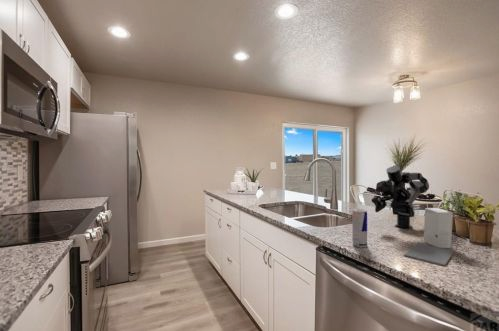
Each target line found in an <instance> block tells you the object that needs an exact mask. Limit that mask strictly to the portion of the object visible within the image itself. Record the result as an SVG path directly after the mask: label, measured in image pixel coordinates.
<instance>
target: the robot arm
mask: <svg viewBox="0 0 499 331" xmlns="http://www.w3.org/2000/svg"><path fill="white" fill-rule="evenodd" d="M386 174H387V177H388V179H386V180H381V181H378V182H377V183H376V186H375V189H376V190H377V191H379V192H381V195H382V197H381V195H377V196H373V197H372V198H371V199H370V200H371V202H372V203H373V204H374V205H375V206H374V207H375V208H374V212H375V213H379V212H381V211H382V210H383V209H386V206H387V201H388V202H389V201H390V208H391V209H392V210H391V211H392V214H393V215H396V216H397V217H396V219H397V220H396V225H394V227H395V228H401V229H407V230H410V229H412V228H413V225H411V218H414V217H415V210H414V207H413V205H412V204H413V203H414V202H415V201H416V200H417V198H418V197H419V196H420V195H421V194H424V193H426V192H427V191H428V190H429V188H430V184H429V181H428V179H427V178H426V177H424V176H423V174H422V173H421V172H408V171H407V172H405V171H404V172H403V171H401V169H400V167H399V165H395V164H394V165H392V166H390V167H388V168H386ZM406 184H409V187H410V189H409V190H407V189H406Z"/></svg>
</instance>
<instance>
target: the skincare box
mask: <svg viewBox="0 0 499 331" xmlns="http://www.w3.org/2000/svg"><path fill="white" fill-rule="evenodd" d="M453 215H454V213H453V212H452V211H450V210H445V209H442V208H438V207H424V223H423V225H424V227H423V240H422V242H424V243H425V244H427V245H428V244H429V245H430V246H435V247H440V248H445V249H451V248H452V233H453V219H454V218H453V217H454V216H453Z"/></svg>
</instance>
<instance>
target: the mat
mask: <svg viewBox="0 0 499 331" xmlns="http://www.w3.org/2000/svg"><path fill="white" fill-rule="evenodd" d="M454 253H455V250H454V249H450V248H440V247H435V246H433V245H430V244H429V245H428V244H426V243H425V244H424V243H419V242H417V243H415V244H414V245H412V246H411V248H409V249H408V250H407V251H406V252H405V253H403V256H404V257H407V258H410V259H413V260H419V261H423V262H425V263H430V264H435V265H439V266H442V267H446V265H447V264H448V262H449V260H450V259H451V257H452V256H453V255H454Z"/></svg>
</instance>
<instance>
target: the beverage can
mask: <svg viewBox="0 0 499 331" xmlns="http://www.w3.org/2000/svg"><path fill="white" fill-rule="evenodd" d="M351 213H352V218H351V220H352V245H353V246H354V247H357V248H366V247H367V246H368V211H367V210H366V209H363V208H353V209H352V212H351Z"/></svg>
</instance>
